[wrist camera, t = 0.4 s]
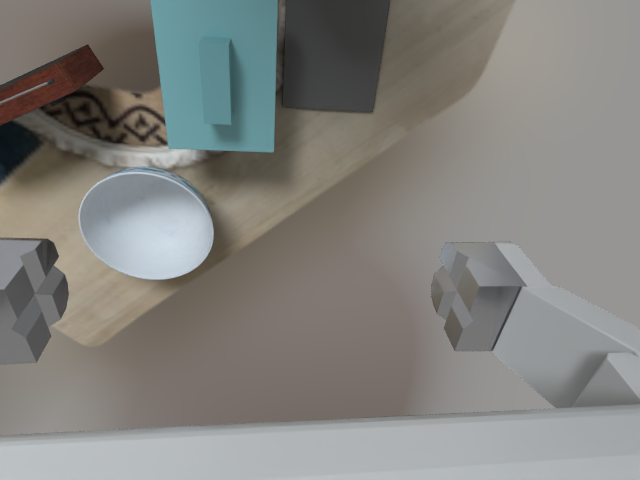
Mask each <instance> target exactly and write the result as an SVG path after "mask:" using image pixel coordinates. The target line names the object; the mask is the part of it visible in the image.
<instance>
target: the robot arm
mask: <svg viewBox="0 0 640 480" xmlns="http://www.w3.org/2000/svg"><path fill="white" fill-rule="evenodd" d="M58 257H59V255H58V253H57V250H56V247H55V245H54V243H53V242H52V241H50V240H49V239H37V238H0V365H6V364H23V363H37V361H38V359H39V357H40V356H41V354H42V352H43V350H44V348H45V346H46V345H47V343H48V341H49V339H50V338H51V334H50V332H49V329H48V327H49V326H51V325H53V324H54V323H56V322H57V321H59V320H60V319H61V317H62V315H63V313H64V311H65V310H66V306H67V301H68V296H69V293H68V283H67V280H66V277H65V274H64V273H63V272H61V271H60V270H59V269H58V268H56V267H55V266H54V264H55V262H56V261H57V259H58ZM439 258H440V260H441V262H442V264H443V266H442V267H441V268H440V269H439V270H438V271H437V272H435V273H434V277H433V281H432V285H431V289H432V290H431V295H432V296H431V297H432V301H433V305H434V308H435V310H436V312H437V314H438V315H440V316H441V317H443V318H444V319H446V323H445V327H444V329H445V331H446V334H447V336H448V338H449V340H450V342H451V344H452V346H453V348H454V350H455V351H493V352H492V353H493V354H494V355H495V356H496V357H497V358H498V359H500V360H501V361H502V362H503V363H504V364H506V365H507V366H508V367H509V368H510V369H511V370H512V371H513V372H515V373H516V374H517V375H518V376H519V377H520V378H522V379H523V380H524V381H525V382H526V383H527V384H529V385H530V386H531V387H532V388H533V389H534V390H536V391H537V392H538V393H539V394H540V395H541V396H543V397H544V398H545V399H546V400H547V401H548V402H549V403H551V404H552V405H553V406H554V407H555V408H553V409H532V410H512V411H491V412H472V413H449V414H429V415H408V416H388V417H387V416H386V417H366V418H345V419H324V420H303V421H284V422H283V421H282V422H262V423H241V424H222V425H200V426H181V427H180V426H179V427H160V428H138V429H119V430H99V431H78V432H77V431H76V432H56V433H35V434H14V435H0V480H640V329H639V328H638V327H636V326H634V325H632V324H630V323H628V322H626V321H624V320H622V319H620V318H618V317H616V316H614V315H613V314H610V313H609V312H607V311H605V310H603V309H601V308H599V307H597V306H595V305H593V304H592V303H590V302H588V301H586V300H584V299H582V298H580V297H578V296H576V295H574V294H572V293H570V292H568V291H566V290H565V289H562V288H561V287H552V286H551V284H550V283H549V282H548V281H547V280H546V279H545V277H544V276H543V275H542V274H541V273H540V272H539V270H538V269H537V268H536V267H535V266H534V264H533V263H532V262H531V261H530V260H529V259H528V258H527V256H526V255H525V254H524V253H523V251H521V249H520V248H519V247H518V246H517V244H515V243H513V242H511V241H504V242H503V241H502V242H472V243H471V242H468V243H467V242H462V243H446V244H445V245H444V246H443V248H442V250H441V253H440V257H439Z"/></svg>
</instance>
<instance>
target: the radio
mask: <svg viewBox="0 0 640 480" xmlns="http://www.w3.org/2000/svg"><path fill="white" fill-rule="evenodd" d="M103 69H104V68H103V67H102V65H101V64H100V62H99V60H98V59H97V57H96V56H95V55H94V53H93V51H92V50H91V48H90V47H89V45H85V46H83V47H81V48H79V49H77V50H75V51H73V52H71V53H69V54H67V55H64V56H62V57H60V58H58V59H56V60H54V61H52V62H49V63H47V64H45V65H43V66H41V67H39V68H37V69H35V70H32V71H30V72H28V73H26V74H24V75H22V76H20V77H17V78H15V79H13V80H11V81H9V82H7V83H5V84H3V85H0V125H2V124H5V123H7V122H9V121H11V120H13V119H15V118H18V117H20V116H22V115H24V114H26V113H29V112H31V111H33V110H35V109H37V108H40V107H42V106H44V105H46V104H48V103H50V105H51V106H54V105H56V104H58V103H60V102H62V101H63V100H65V99H66V98H65V97H64V96H66V95H68V94H69V95H70V94H73V93H75V92H76V91H77V90H78V89H79V88H81V87H82V86H83V85H84V84H86V83H87V82H88V81H89V80H91V79H92V78H93V77H94V76H96V75H97V74H98V73H99V72H101V71H102V70H103Z"/></svg>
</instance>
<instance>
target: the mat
mask: <svg viewBox="0 0 640 480" xmlns="http://www.w3.org/2000/svg"><path fill="white" fill-rule="evenodd" d="M389 5H390V0H286V19H285V48H284V77H283V105H282V107H285V108H304V109H324V110H343V111H363V112H373V108H374V101H375V95H376V88H377V82H378V75H379V69H380V63H381V56H382V50H383V43H384V37H385V30H386V24H387V18H388V11H389Z"/></svg>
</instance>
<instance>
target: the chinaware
mask: <svg viewBox="0 0 640 480" xmlns="http://www.w3.org/2000/svg"><path fill="white" fill-rule="evenodd" d="M78 219H79V227H80V231H81V234H82V236H83V239H84V241H85V242H86V244H87V246H88V247H89V248H90V250H91V251H92V252H93V253H94V254H95V255H96V256H97V257H98V258H99V259H100V260H101V261H103V262H104V263H105V264H107V265H108V266H110V267H111V268H113V269H115V270H117V271H119V272H121V273H124V274H126V275H129V276H133V277H137V278H142V279H149V280H163V279H171V278H175V277H179V276H182V275H184V274H187V273H189V272H190V271H192V270H194V269H195V268H197V267H198V266H199V265H200V264H201V263H202V262H203V261H204V260H205V259H206V257H207V256H208V254H209V252H210V250H211V248H212V245H213V240H214V226H213V220H212V216H211V213H210V210H209V208H208V206H207V204H206V202H205V200H204V198H203V197H202V195H201V194H200V193H199V192H198V190H197V189H196V188H195V187H194V186H193V185H192V184H191V183H189V182H188V181H187V180H185V179H184V178H182V177H181V176H179V175H177V174H175V173H173V172H170V171H167V170H164V169H160V168H155V167H134V168H128V169H124V170H121V171H118V172H115V173H113V174H111V175H109V176H107V177H105V178H104V179H102V180H101V181H99V182H98V183H96V184H95V185H94V186H93V187H92V188H91V189H90V190H89V191H88V192H87V194H86V195H85V197H84V198H83V200H82V203H81V205H80V209H79V217H78Z"/></svg>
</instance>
